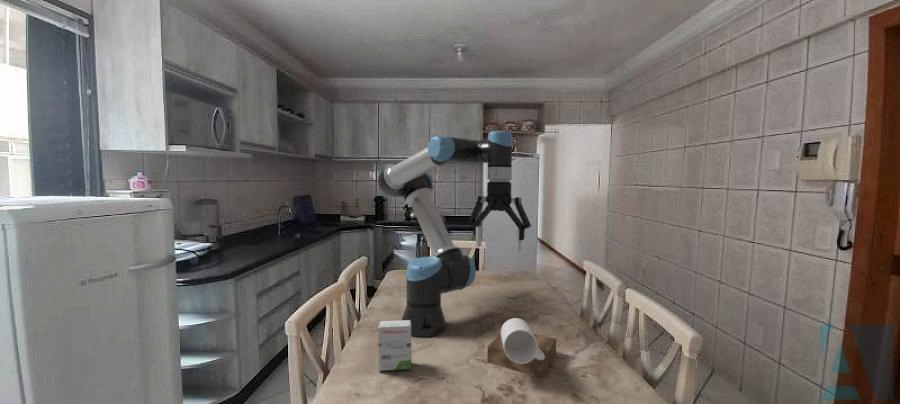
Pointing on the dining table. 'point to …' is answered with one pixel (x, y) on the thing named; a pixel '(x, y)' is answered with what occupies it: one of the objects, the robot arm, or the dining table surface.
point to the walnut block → (531, 368)
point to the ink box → (394, 345)
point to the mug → (520, 342)
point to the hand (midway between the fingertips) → (497, 248)
